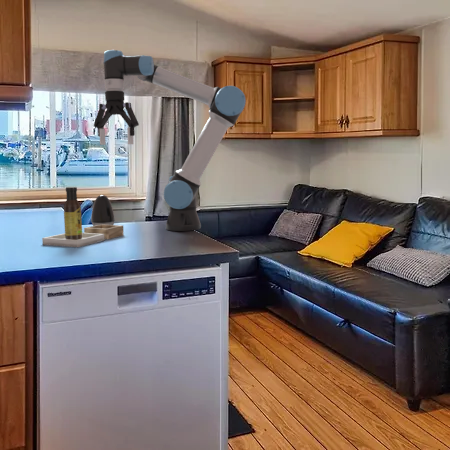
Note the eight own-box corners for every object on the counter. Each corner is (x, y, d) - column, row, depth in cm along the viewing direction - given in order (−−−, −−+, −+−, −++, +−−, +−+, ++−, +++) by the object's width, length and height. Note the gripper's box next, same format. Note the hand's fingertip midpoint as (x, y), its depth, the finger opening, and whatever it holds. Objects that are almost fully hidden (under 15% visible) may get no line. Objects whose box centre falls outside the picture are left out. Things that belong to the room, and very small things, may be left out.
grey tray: (104, 240, 206) (104, 234, 206) (77, 247, 192) (76, 240, 192) (71, 238, 213) (71, 231, 213) (42, 244, 198) (42, 238, 198)
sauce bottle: (82, 240, 200) (79, 187, 197) (64, 241, 199) (61, 188, 196) (82, 238, 206) (80, 186, 203) (65, 238, 205) (62, 186, 202)
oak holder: (123, 235, 219) (123, 225, 218) (107, 239, 209) (106, 229, 208) (101, 233, 223) (101, 224, 223) (84, 237, 213) (84, 227, 213)
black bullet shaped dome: (118, 227, 241) (116, 193, 239) (111, 231, 231) (109, 195, 229) (96, 227, 242) (94, 194, 240) (88, 231, 232) (86, 196, 230)
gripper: (83, 91, 216) (85, 144, 219) (135, 88, 206) (137, 143, 209) (95, 93, 223) (97, 145, 226) (146, 90, 213) (147, 144, 216)
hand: (116, 144), depth 218 cm, fingers open, 13 cm apart
